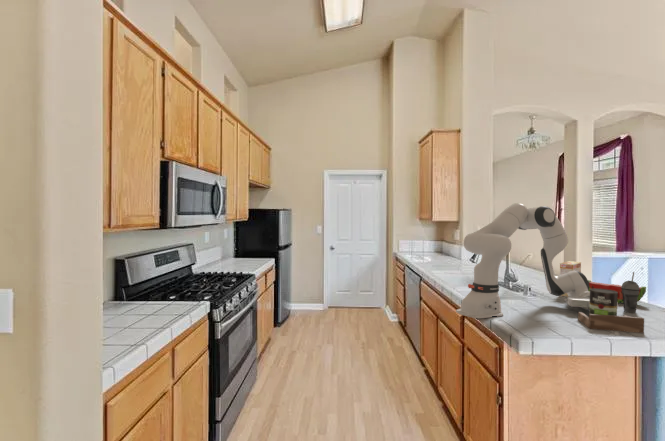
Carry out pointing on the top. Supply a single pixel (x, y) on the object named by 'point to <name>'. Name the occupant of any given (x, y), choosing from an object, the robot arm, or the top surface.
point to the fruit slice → (615, 289)
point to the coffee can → (603, 302)
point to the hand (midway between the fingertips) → (598, 306)
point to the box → (612, 322)
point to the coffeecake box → (569, 268)
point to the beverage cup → (630, 295)
